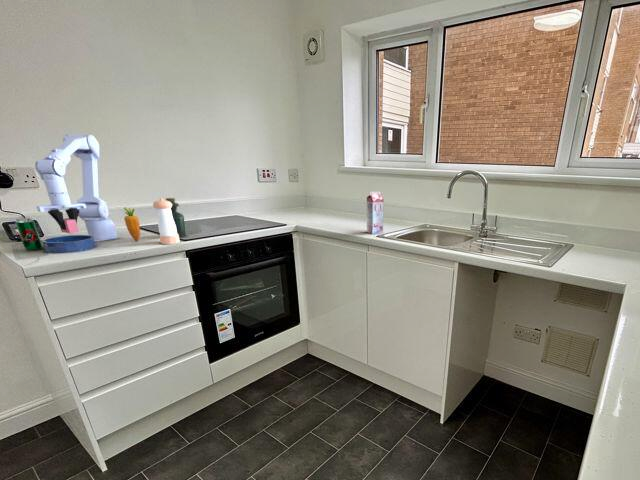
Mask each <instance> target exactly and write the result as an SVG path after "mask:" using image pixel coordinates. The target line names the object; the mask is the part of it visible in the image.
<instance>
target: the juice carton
mask: <svg viewBox="0 0 640 480" xmlns="http://www.w3.org/2000/svg"><path fill="white" fill-rule="evenodd" d="M366 233H369V234H371V235H375V234H383V233H384V197H383V196H382V193H381V191H369V195H368V196H367V197H366Z"/></svg>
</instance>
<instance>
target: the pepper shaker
mask: <svg viewBox="0 0 640 480" xmlns="http://www.w3.org/2000/svg"><path fill="white" fill-rule="evenodd" d="M152 207H153V208H154V209H155V211H156V215H157V228H158V231H159V236H158V237H159V241H160V244H161V245H173V244H174V245H175V244H180V242H181V240H180V238H179V235H178V234H177V229H176V225H175V222H174V220H173V217H172V212H171V208H172V203H171V202H169V201H166V199H165V200H164V198H163V197H162V198H161V197H160V198H159V199H158V200H154V202H152Z"/></svg>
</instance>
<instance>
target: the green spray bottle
mask: <svg viewBox="0 0 640 480" xmlns="http://www.w3.org/2000/svg"><path fill="white" fill-rule="evenodd" d="M165 200H166V201H169V202H171V203H172V208H171V212H172V217H173V220H174V222H175V225H176V229H177V234H178V235H179V239H182V238H185V237H186V236H187V234H186V225H185V224H186V223H185V216H184V215H183V214H182V213H180V212H178V211H177V209H178V207H179V206H180V204H179V202H176V198H175V197H166V198H165Z"/></svg>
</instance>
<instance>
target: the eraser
mask: <svg viewBox="0 0 640 480" xmlns="http://www.w3.org/2000/svg"><path fill="white" fill-rule="evenodd" d="M63 220H64V223H65V226H66V229H65V230H64V229H61V228H60V231H61V233H65V234H77V233H80V230H79V227H78V223H77V224H76V220H74V219H69V217H68V218H67V217H65V218H63Z"/></svg>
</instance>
